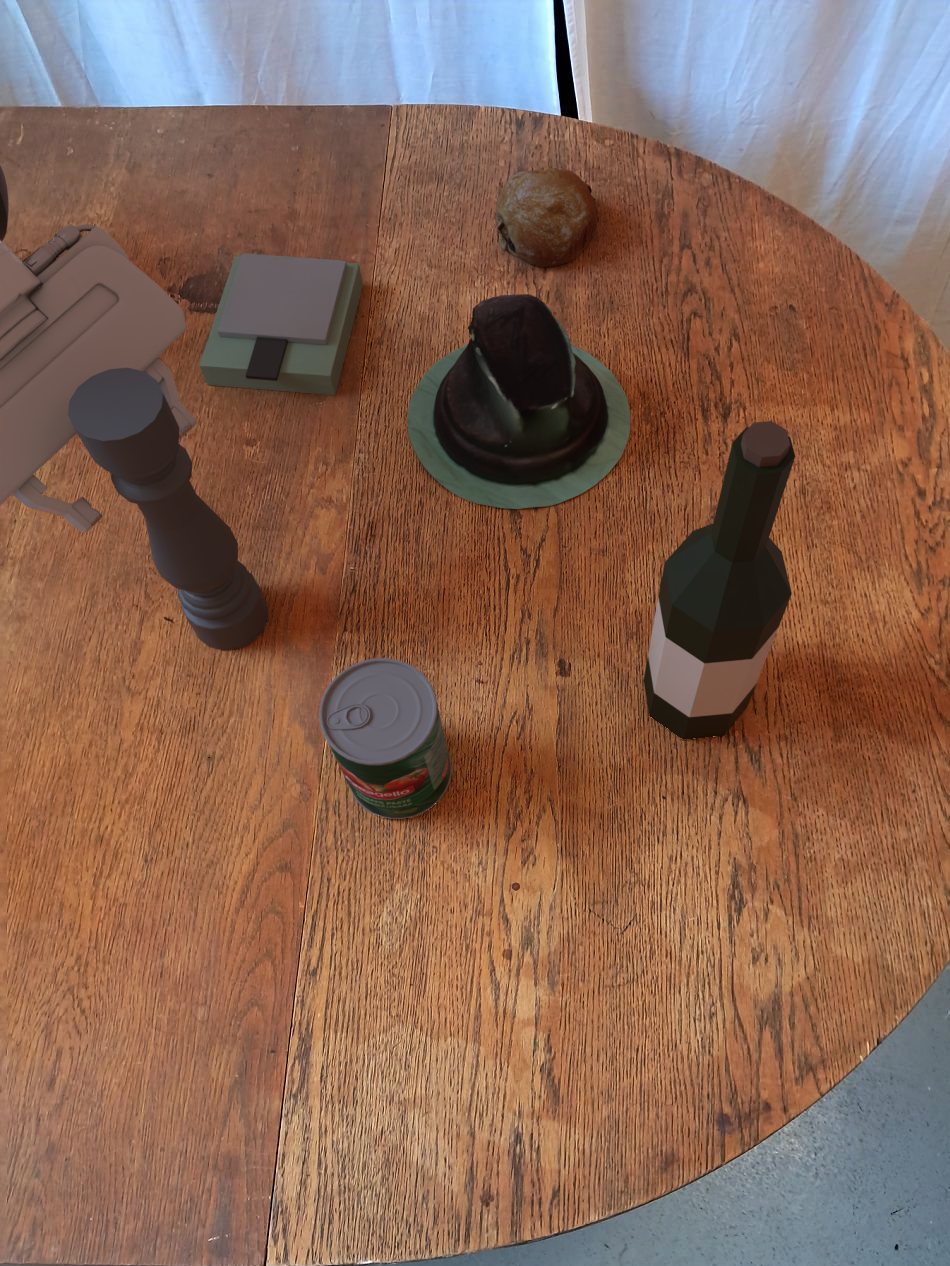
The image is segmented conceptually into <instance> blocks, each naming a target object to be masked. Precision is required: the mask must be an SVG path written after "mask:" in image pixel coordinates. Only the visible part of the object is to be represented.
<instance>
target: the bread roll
mask: <svg viewBox="0 0 950 1266" xmlns="http://www.w3.org/2000/svg"><path fill="white" fill-rule="evenodd" d="M592 192H593V188H592V187H591V186H590V184H588V183H586V181H584V180H583V179H581V178H580V177H579V175H577V173H575V172H573V171H571V169H565V168H563V169H561V168H560V169H558V168H556V167H549V168H547V169H535V170H520V171H518V172H516V173H515V174H513V175H512V176H511V177H510V178H509V179H507V180H506V181H505V183H504V185H503V186H502V188H501V190H500V192H499V195H498V198H497V200H496V203H495V208H496V210H495V221H496V222H495V223H496V232H497V233H498V234H499V236H498V237H499V238H498V244H499V246H500V249H502V250H504V251H508V252H509V253H510V254H512V255H513V256H515V257H516V258H519V259H521V260H522V261H525V262H527V263H529V264H531V265H533V266H536V267H541V268H551V267H556V266H560V265H564V264H567V263H570V262H572V261H574V260H576V259H577V257H579V256H580V255H581V253H583V251H585V249H586V248H587V247H588V245H589V244H590V243H591V241H592V240H593V238H594V234H595V232H596V231H597V226H598V214H599V210H598V207H597V203H596V198H595V197H594V196H593V195H592Z"/></svg>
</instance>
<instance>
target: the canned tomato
mask: <svg viewBox="0 0 950 1266" xmlns="http://www.w3.org/2000/svg"><path fill="white" fill-rule="evenodd" d="M438 705H439V704H438V699H437V694H436V692H435V690H434V687H433V685H432V683H431V682H430V681H429V679H428V678H427V676H426V675H425V674H424V673H423V672H422V671H420V670H419V669H418V668H416V667H415V666H414V665H412V664H409V663H408V662H405V661H402V660H400V659H394V658H388V657H379V658H378V657H376V658H375V657H374V658H369V659H364V660H362V661H359V662H357V663H353V664H352V665H350V666H348V667H347V668H345V669H343V670H342V671H341V672H340V673H338V674H337V675H336V676H334V678H333V679H332V681H331V682H330V683H329V684H328V686H326V689H325V691H324V693H323V694H322V697H321V701H320V704H319V710H318V711H319V712H318V718H319V726H320V730H321V732H322V735H323V737H324V738H325V740H326V742H327V743H328V746H329V749H330V751H331V752H332V754H333V757H334V758H335V761H336V763H337V765H338V766H339V769H340V770H341V772H342V775H343V776H344V778H345V782H346V783H347V785H348V787H349V789H350V791H351V794H352V796H353V797H354V799H355V800H356V802H357V803H358V804H359V806H361V808H363V809H364V810H365V811H366V812H368V811H369V812H368V813H370V814H371V813H372V814H371V815H373V814H375V815H377V816H376V817H378V815H379V816H380V817H379V818H381V817H384V818H388V819H387V820H390V819H389V818H391V819H405V818H410V819H412V818H411V817H414V818H416V817H415V816H417V815H419V814H422V813H424V812H425V811H426V810H428V809H430V808H431V807H433V806H434V804H435V803H437V802H438V801H439V800H440V799H441V800H442V798H443V797H444V796H445V794H446V793H447V790H448V788H449V786H450V782H451V780H452V775H453V774H452V770H453V769H452V768H453V767H452V766H453V763H452V758H451V755H450V753H449V748H448V743H447V740H446V739H447V738H446V736H445V735H446V734H445V731H444V727H443V723H442V718H441V714H440V710H439V706H438ZM445 792H446V793H445ZM444 793H445V794H444ZM443 795H444V796H443ZM442 796H443V797H442ZM441 797H442V798H441ZM441 800H440V801H441ZM440 801H439V802H440ZM439 802H438V803H439ZM438 803H437V804H438ZM434 807H435V806H434ZM434 807H433V808H434ZM430 810H431V809H430ZM428 811H429V810H428ZM425 813H426V812H425ZM425 813H424V814H425ZM375 815H374V816H375ZM422 815H423V814H422ZM419 816H420V815H419ZM417 817H418V816H417ZM384 818H383V819H384ZM405 820H406V819H405Z"/></svg>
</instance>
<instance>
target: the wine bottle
mask: <svg viewBox="0 0 950 1266" xmlns="http://www.w3.org/2000/svg"><path fill="white" fill-rule="evenodd" d="M795 459H796V453H795V448H794V446H793V442H792V437H791V436H789V433H788V430H787V429H786V428H785V427H783V426H781V425H779V424H777V423H776V422H774V421H773V420H766V421H755V422H752V423H751V424H750V426H746V427H744V429H743V430H742V431H741V432H740V434H738V436H737V437H735V439H734V440H732V443H731V446H730V451H729V455H728V459H727V464H726V467H725V472H724V476H723V479H722V484H721V487H720V493H719V497H718V500H717V505H716V510H715V513H714V518H713V522H712V523H711V524H707V525H705V526H702V527H699V528H696V529H694V530H692V531H691V532H690V533H689V535H687V537H686V538H685V539H684V540H683V541H682V543H680V545H679V546H678V547H677V548H676V549H675V550H674V551H673V552H672V553H671V554H670V556H669V557H668V558H667V559H666V560H665V561H664V563H663V567H662V568H663V569H662V574H661V580H660V584H659V585H660V586H659V590H658V591H659V592H658V597H657V603H656V606H655V607H656V608H655V613H654V619H653V625H652V631H651V637H650V642H649V646H648V647H649V648H648V654H647V657H646V658H647V659H646V665H645V669H644V676H643V686H644V691H645V698H647V699H646V705H647V704H648V705H647V710H649V711H648V717H649V716H650V717H652V718H653V719H654V720H653V719H652V718H651V719H652V720H653V721H655V722H656V721H657V722H659V723H660V724H662V725H663V726H664V727H663V726H662V725H661V726H662V727H663V728H665V727H666V728H668V729H669V730H670V731H671V732H670V731H669V730H668V731H669V732H670V733H672V732H673V733H674V734H676V735H677V736H678V737H677V736H676V735H675V736H676V737H677V738H679V737H680V738H682V739H691V740H694V739H693V738H702V739H706V738H705V737H712V738H714V737H713V736H722V737H724V736H726V735H727V733H728V732H729V730H730V729H731V728H732V727H733V726H734V724H735V723H736V722H737V721H738V719H739V718H740V717H741V716H742V715H743V713H744V712H745V711H746V710H747V708H748V706H749V704H750V701H751V699H752V696H753V693H754V690H755V689H756V686H757V683H758V681H759V678H760V676H761V673H762V671H763V667H764V665H765V663H766V661H767V658H768V655H769V652H770V650H771V648H772V645H773V643H774V640H775V638H776V635H777V632H778V629H779V628H780V625H781V622H782V620H783V617H784V616H785V615H784V614H785V613H786V609H787V607H788V604H789V602H790V599H791V597H792V594H793V592H792V588H791V584H790V580H789V576H788V572H787V567H786V564H785V559H784V555H783V551H782V550H781V549H780V548H779V546H778V545H777V544H776V543H775V542H774V540H773V539H771V538H770V535H771V533H772V530H773V527H774V524H775V521H776V518H777V514H778V511H779V508H780V506H781V502H782V498H783V496H784V493H785V489H786V487H787V483H788V481H789V478H790V475H791V471H792V469H793V465H794V463H795ZM744 710H745V711H744ZM743 711H744V712H743ZM742 712H743V713H742ZM740 715H741V716H740ZM739 716H740V717H739ZM650 717H649V718H650ZM738 717H739V718H738ZM735 721H736V722H735ZM657 722H656V723H657ZM659 723H658V724H659ZM660 724H659V725H660ZM731 726H732V727H731ZM666 728H665V729H666ZM727 731H728V732H727ZM726 732H727V733H726ZM673 733H672V734H673ZM674 734H673V735H674ZM680 738H679V739H680ZM682 739H681V740H682Z"/></svg>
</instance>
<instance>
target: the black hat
mask: <svg viewBox="0 0 950 1266" xmlns="http://www.w3.org/2000/svg"><path fill="white" fill-rule="evenodd" d="M471 315H472V316H471V318H470V319H471V321H470V324H469V325H468V326H467V330H468V332H469V334H470V339H469V341H468V343H467V344H465V345H463V346H461V347H457V348H456V349H454V350H452V351H450V352H449V353H447V355H445V356H443V357H441V358H440V359H439V360H438V359H437V361H435V362H434V363H433V364H432V365H431V366H430V367H429V369H428V370H427V372H426V373H425V374H424V375H423V376H422V378H421V379H420V380H419V382H418V384H417V385H416V387H415V389H414V391H413V393H412V395H411V398H410V400H409V403H408V408H407V433H408V438H409V441H410V444H411V447H412V449H413V451H414V453H415V455H416V456H417V458H418V460H419V462H420V464H422V466H423V467H424V469H425V470H426V471H427V472H428V473H429V474H430V476H431V477H432V478H434V479H435V480H436V481H437V482H438V483H439V484H440V485H441V486H443V487H444V488H445V489H446V490H448V491H449V492H451V493H452V494H454V495H456V496H457V497H459V498H462V499H463V500H466V501H467V502H470V503H472V504H478V505H482V506H487V507H488V506H490V507H494V508H499V509H509V510H511V509H512V510H522V509H528V508H540V507H552V506H554V505H555V506H556V505H558V504H561V503H564V502H566V501H568V500H571V499H573V498H575V497H577V496H581V494H584V493H585V492H587V491H588V490H590V489H591V488H593V487H594V486H596V485H598V483H599V482H601V480H602V479H604V478H605V477H606V476H607V475H608V474H609V473H610V472H611V471H612V470H613V468H614V467H616V464H618V462H619V461H620V459H621V458H622V456H623V454H624V452H625V449H626V447H627V444H628V441H629V437H630V432H631V422H632V421H631V410H630V409H631V408H630V405H629V401H628V397H627V394H626V393H625V391H624V389H623V387H622V385H621V384H620V382H619V381H618V378H617V377H616V376H615V374H614V373H613V372H612V371H611V370H610V369H609V368H608V367H607V366H606V365H604V364H603V363H602V362H601V361H600V360H599V359H597V358H596V357H594V356H593V355H591V353H589V352H588V351H585V350H584V349H582V348H579V347H578V346H576V345H574V344H572V343H571V338H570V336H569V334H568V333H567V332H566V330H565V329H564V326H563V325H562V323H561V322H560V321H559V319H558V318H556V317H555V316H554V313H553V311H552V310H551V308H550V307H549V305H547V303H546V302H544V301H543V300H541V299H540V297H537V296H534V295H532V294H530V293H529V294H528V293H527V294H526V293H525V294H523V293H522V294H503V295H497V296H491V297H489V298H487V299H482V300H481V301H480V302H479V303H477V304H476V305H475V306H474V307H473V308H472V311H471Z"/></svg>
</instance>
